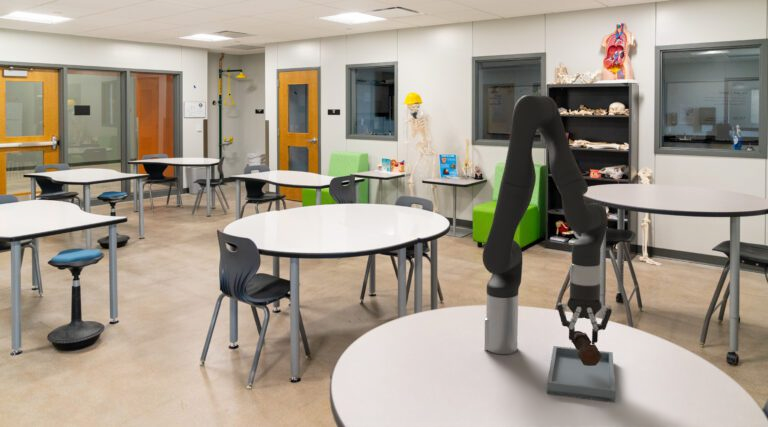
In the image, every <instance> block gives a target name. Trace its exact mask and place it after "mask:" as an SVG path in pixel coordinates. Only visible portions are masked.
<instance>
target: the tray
mask: <svg viewBox="0 0 768 427" xmlns="http://www.w3.org/2000/svg"><path fill="white" fill-rule="evenodd" d="M578 352H579V350H577V349H576V348H575V347H568V346H567V347H565V346H558V345H557V346H556V345H553V347H552V353H551V357H550V358H551V359H550V364H549V369H548V376H547V377H548V378H547V382H546V394H547V395H556V396H562V397H563V396H564V397H570V398H579V399H587V400H594V401H602V402H608V403H609V402H610V403H615V401H616V383H615V382H616V380H615V368H614V367H615V366H614V356H613V355H614V354H613V353H614V352H612V351H604V350H599V352H600V354H601V355H602V357H601V359H600V361H599V362H598V364H597V365H595V366H586V365H583V363H582V361H581V360H580V358H579V356H578V355H577V353H578Z"/></svg>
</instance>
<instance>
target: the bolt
mask: <svg viewBox="0 0 768 427" xmlns="http://www.w3.org/2000/svg"><path fill="white" fill-rule="evenodd" d="M572 344H573V346H574V348H576V349H577V350H579V352H578V353H577V355H578V356H579V358H580V360H581V361H582V363H583V365H586V366H595V365H597V364H598V362H599V361H600V359H601V357H602V355H601V354H600V352H599V351H600V350H599V349H598V347H597V345H596V344H595V345H593V344H592V340H591V339H590V336H588V334H587V333H586V332H583V331H580V330H575V335H574V343H573V342H572Z"/></svg>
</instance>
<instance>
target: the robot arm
mask: <svg viewBox="0 0 768 427" xmlns="http://www.w3.org/2000/svg"><path fill="white" fill-rule="evenodd" d="M537 131H539V133H540V134H541V136H542V137H543V139H544V140H545V143H546V145H547V146H546V147H547V151H548V156H549V158H548V159H549V160H548V162H549V163H548V165H549V172H550V174H551V177H552V179H553V182H554V184H555V186H556V188H557V190H558V192H559V194H560V196H561V204H562V208H563V213H564V218H565V222H566V223H567V226H569V228H570V229H571V230H572V231H574V232H575V233H577V234H580V236H579V238H578V239H577V240H576V241H574V242H573V243H572V245H571V265H570V272H569V297H568V298H569V299H568V300H567V301H566V302H560V301H559V302H558V303H557V307H556V308H557V310H558V315H559V318H560V322H561V325H562V327H567V328H568V340H569V341H571V343H572V344H573V343H574V335H575V331H576V328H575V327H576V323H577V321H578V319H586V320H589V321H590V324H591V326H592V331H591V345H596V343H598V340H599V339H598V338H599V337H598V336H599V332H600V331H601V330H602V331H605V330H606V328H607V326H608V323H609V320H610V319H611V316H612V312H613V309H612V308H613V307H612V306H610V305H608V306H607V305H603V304H602V301H601V281H602V270H601V269H602V268H601V254H602V253H601V249H602V245H603V243H604V240H605V239H604V238H605V235H606V231H607V228H608V222H609V221H608V219H609V218H608V213H607V210H606V208H605V206H604V205H602V204H600V203H598V202H591V203H585V200H584V195H586V194H587V192H588V190H589V188H588V187H589V186H588V184H587V181H586V179H585V177H584V175H583V173H582V170H581V169H580V167H579V165H578V163H577V161H576V158H575V156H574V154H573V152H572V149H571V146H570V143H569V140H568V136H567V134H566V129H565V127H564V123H563V120H562V116H561V113H560V110H559V107H558V104H557V102H556V101H555V100H554V99H553V98H552V97H550V96H548V95H538V94H537V95H536V94H526V95H525V94H524V95H523V96H521V97H520V98H519V99H518V100H517V101H516V102H515V105H514V108H513V112H512V118H511V126H510V133H509V142H508V146H507V147H508V148H507V153H506V159H505V163H504V169H503V172H502V176H501V181H500V185H499V190H498V195H497V200H496V205H495V208H494V213H493V219H492V223H491V227H490V229H489V233H488V236H487V239H486V241H485V244H484V247H483V252H482V258H481V259H482V263H483V265H484V266H483V267H484V268H485V269H486V270H487V271H488V273H490V274H491V276H490V279H489V280H488V282H487V284H486V301H485V302H486V303H485V304H486V307H485V308H486V310H485V311H486V312H485V314H486V316H485V319H484V351H487V350H488V352H490V353H493V354H496V355H511V354H513V353H516V352H517V350H518V332H519V331H518V330H519V329H518V328H519V326H518V324H519V320H518V319H519V289H520V285H521V283H522V274H523V252H522V251H523V250H522V248H521V246H520V244H518V243H519V242H517V241H516V240H514V239H515V235H516V233H517V229H518V227H519V225H520V223H521V221H522V219H523V218H524V217H525V214H526V212H527V211H528V208H529V206H530V204H531V201H532V198H533V194H534V190H535V185H536V180H537V174H536V169H535V164H534V160H533V159H534V158H533V146H534V142H535V141H534V140H535V136H536V133H537ZM567 307H568V308H567ZM567 309H569V310H570V311H571V312H572V316H571V318H570V320H567V316H566V311H567ZM600 310H601V311H602V313H601V314H603V316H602V320H601V322H600V323H598V321H597V316H596V315H597V314H598V312H600Z"/></svg>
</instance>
